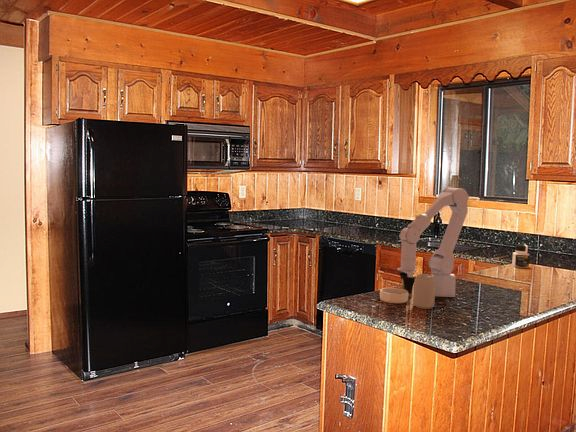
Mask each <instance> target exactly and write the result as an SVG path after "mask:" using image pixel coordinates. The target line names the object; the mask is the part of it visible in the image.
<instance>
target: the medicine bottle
mask: <svg viewBox="0 0 576 432" xmlns="http://www.w3.org/2000/svg"><path fill="white" fill-rule="evenodd" d="M514 248H515V250H514V251H515V252H512V259H511V260H512V262H511V263H512V264H511V265H512V266H513V267H514V268H519V269H521V268H524V269H529V268H530V257H531V256H530V254H529V253H528V249H529V246H528V245H527V244H525V243H518V244H516V245H515V247H514Z"/></svg>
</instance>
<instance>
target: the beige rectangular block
mask: <svg viewBox="0 0 576 432" xmlns="http://www.w3.org/2000/svg"><path fill="white" fill-rule="evenodd" d="M413 288H414V287H413ZM413 288H412V292H411V294H408V298H413V291H414V289H413ZM400 289H404V290H405V287H404V281H403V278H402V281H401V288H400Z"/></svg>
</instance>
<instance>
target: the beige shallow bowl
mask: <svg viewBox="0 0 576 432" xmlns="http://www.w3.org/2000/svg"><path fill="white" fill-rule="evenodd" d="M379 300H380V301H382V302H385V303H391V304H405V303H407V302H408V301H409V297H408V291H407V290H404V289H401V288H400V287H384V288H380V289H379Z"/></svg>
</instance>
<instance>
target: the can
mask: <svg viewBox="0 0 576 432" xmlns="http://www.w3.org/2000/svg"><path fill="white" fill-rule="evenodd" d="M415 277H416V278H415V282H414V285H413V288H414V289H413V305H414V306H415V307H416V308H418V309H423V310H431V309H432V308H433V307H434V306H435V301H436V300H435V298H436V296H435V281H436V280H435V279H434V278H433V277H434V276H433V275H431V274H429V273H421V274H420V273H418V274H416V276H415Z"/></svg>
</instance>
